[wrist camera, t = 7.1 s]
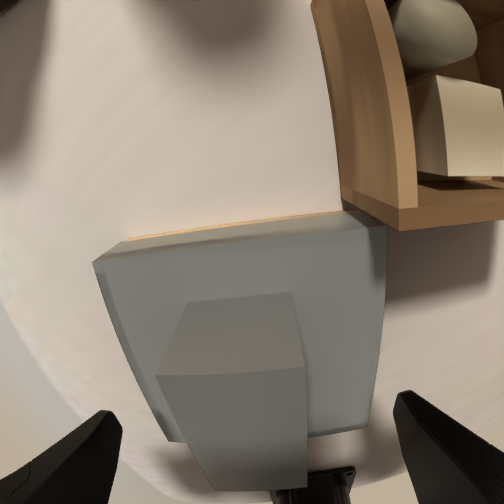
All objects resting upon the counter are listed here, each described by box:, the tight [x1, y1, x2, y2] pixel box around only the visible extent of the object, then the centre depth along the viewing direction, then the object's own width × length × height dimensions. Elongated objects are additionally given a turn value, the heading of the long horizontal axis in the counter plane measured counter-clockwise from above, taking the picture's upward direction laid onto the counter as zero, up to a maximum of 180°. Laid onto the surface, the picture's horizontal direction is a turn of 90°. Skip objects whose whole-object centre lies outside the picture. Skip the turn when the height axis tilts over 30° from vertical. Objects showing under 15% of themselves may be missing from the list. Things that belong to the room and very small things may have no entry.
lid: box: [92, 211, 387, 491], centre depth 9 cm, size 9×9×6 cm
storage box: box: [310, 0, 504, 231], centre depth 7 cm, size 8×8×5 cm
